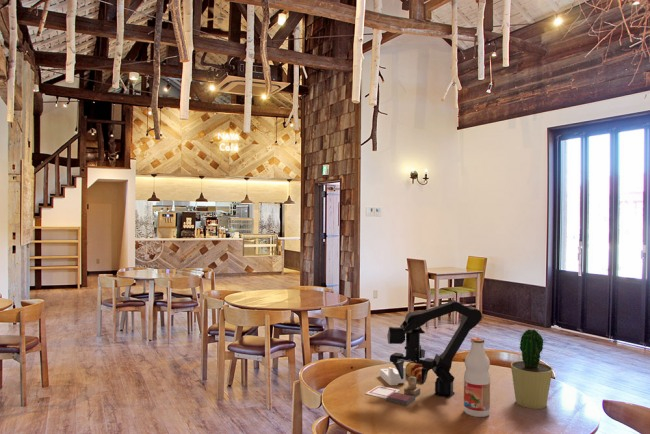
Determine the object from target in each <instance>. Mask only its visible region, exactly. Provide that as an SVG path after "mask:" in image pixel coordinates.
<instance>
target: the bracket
mask: <svg viewBox="0 0 650 434" xmlns="http://www.w3.org/2000/svg"><path fill="white" fill-rule="evenodd" d="M403 373H404V376H403V379H401V377H400V375H399V373H398V370H397V369H396V367H391V366H388V368H380V369H379V377H381V379H383V380H384V381H385V382H386V383H387V384H388V385H390V386H398V385H399V384H405V383H406V378H407V374H406V366H405V365H403Z"/></svg>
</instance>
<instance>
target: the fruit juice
mask: <svg viewBox="0 0 650 434" xmlns="http://www.w3.org/2000/svg"><path fill="white" fill-rule="evenodd" d="M470 344H471V345H470V346H471V347H470V350H469V351H468V353H467V355H466V356H465V359H464V365H465V371H464V372H463V373H464V375H463V411H464V413H465V414H466V415H468V416H471V417H474V418H485V417H488V416H489V415H490V413H491V412H490V411H491V410H490V409H491V405H490V404H491V377H490V376H491V375H490V372H489V369H490V366H491V361H490V359H489V357H488V356H487V354H486V351H485V349H484V348H485V347H484V344H485V339H484V338H483V337H479V336H478V337H477V336H476V337H475V336H474V337H471V338H470Z"/></svg>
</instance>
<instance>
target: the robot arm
mask: <svg viewBox="0 0 650 434" xmlns="http://www.w3.org/2000/svg"><path fill="white" fill-rule="evenodd" d="M454 312H457V313H459V314H461V318H460V323H459V325H458V326H457V328H456V329H455V332H454V333H453V335H452V337H451V339H450V340H449V341H448V344H447V346H446V347H445V349H444V350H443V352H442V353H441V354H437V353H436V354H435V356H434V358H430V357H427V358H425V356H426V350H425V349H422V345H421V334H423V335H424V334H425V333H426V332H425V330H424V329H423V328H422V326H424V325H425V324H427V323H428V322H429V321H432V320H433V319H434V320H435V319H437V318H440V317H443V316H445V315H448V314H451V313H454ZM482 319H483V314H482V312H481V310H479V309H478V308H476V307H473V306H467V305H464V304H462V303H460V302H458V301H457V300H454V299H453V300H452V299H451V300H450V301H448V302H446V303H443V304H440V305H437V306H433V307H432V308H431V307H430V308H429V309H426V310H417V311H415V310H414V311H411V312H408V313H406V315H405V317H404V320H403V322H402V323H401V324H400V326H398V327H397V326H395V327H392V326H389V327H388V330H387V335H386V336H387V343H388V344H389V345H402V344H404V343H405V346H404V350H405V356H404V354H403V353H402V352H394V353H392V354H390V356H389V363H390V362H391V363H392V364H391V365H394V366H395V367H394V368H395V369H396V370H398V373H399V375H400V377H401V379H403V376H404V373H403V366H404V363H405V362H407V363H410V362H411V363H416V364H422V366H423V368H422V381H421V384H424V383H425V381H426V380H427V378H426V376H427V377H428V375H427V373H428V374H429V371H430V370H432V372H433V374H435V376H436V377H437V378H436V379H435V382H434V395H436V396H441V397H445V398H451V397H452V396H453V395H454V394H455V391H454V381H455V376H454V375H453V374H452V373H451V372H450V371H451V369H452V364H453V359H454V358H455V356H456V354H457V352H458V351H459V350H460V348H461V346H462V344H463V343H464V341H465V339H466V337H467V336H468V334H469V332H470V331H471V330H473V329H474V328H475V327H476V326H477V325H478V324H479V323H480V322H481V321H482ZM422 358H423V359H422ZM424 358H425V359H424Z"/></svg>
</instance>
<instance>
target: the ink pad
mask: <svg viewBox="0 0 650 434" xmlns="http://www.w3.org/2000/svg"><path fill="white" fill-rule="evenodd" d="M415 400H416V397H414V396H410V395H406V394H404V393H401V392H394V393H393V394H391V395H390V396H388V397H387V398H386V399H385V401H386V402H389V403H394V404H396V405H402V406H407V407H408V406H409V405H410V404H411V403H412V402H414V401H415Z"/></svg>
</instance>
